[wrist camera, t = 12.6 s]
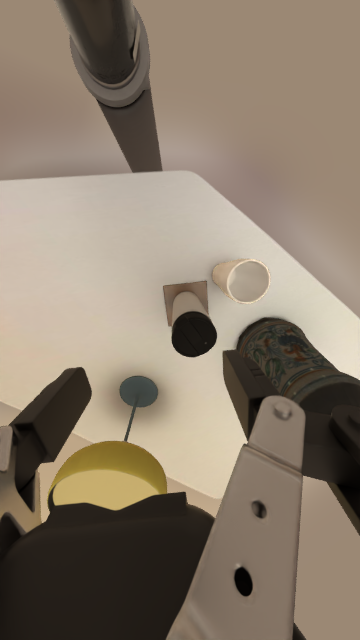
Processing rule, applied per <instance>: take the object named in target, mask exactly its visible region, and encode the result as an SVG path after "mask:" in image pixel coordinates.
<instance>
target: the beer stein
mask: <svg viewBox="0 0 360 640" xmlns="http://www.w3.org/2000/svg"><path fill="white" fill-rule="evenodd" d="M237 350H238V352H239V353H240V355H241V356H242V358H244V357H248V358H250V359H252V360H253V361H255V362H256V363H257V364H258V366H259V367H260V368H261V370H262V371H263V372H264V374H265V375H266V376H267V377H268V379H269V380H270V381H271V383H272V384H273V385H274V387H275V388H276V389H277V391H278V392H279V393H280V395H281V396H282V397H286V398H288V399H291V400H292V401H294V402H296V403H297V404H298V405H299V406H300V407H301V408H302V409H303V410H305V411H309V412H315V413H322V414H328V415H331V413H332V409H333V408H334V407H335V406H338V405H352V406H356V407H359V408H360V380H358V379H356V378H354V377H352V376H350V375H348V374H345V373H342V372H340V371H338V370H337V369H336V368H335V367H334V365H332V364H331V363H330V362H329V361H328V360H327V359H326V358H325V357H324V356H323V355H322V354H321V353H319V352H318V351H317V350H316V349H315V348H314V346H313V345H312V344H311V343H310V342H309V341H308V339H307V338H306V336H305V334H304V333H303V331H302V330H301V329H300V328H299V327H298V326H296V325H295V324H293V323H291V322H288V321H284V320H281V319H275V318H263V319H261V320H259V321H257V322H255V323H253V324H251V325H250V326H248V327H247V329H246V330H245V331H244V332H243V333H242V335H241V336H240V337H239V341H238V345H237Z"/></svg>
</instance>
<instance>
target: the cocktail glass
mask: <svg viewBox="0 0 360 640" xmlns="http://www.w3.org/2000/svg"><path fill="white" fill-rule="evenodd" d="M157 395H158V389H157V387H156V385H155V384H154V382H152V381H151V380H150V379H148V378H146V377H142V376H134V377H130V378H128V379H126V380H125V381H124V382H123V383H122V384H121V386H120V396H121V398H122V399H123V401H124V402H125V403H127V404H128V405H130V406H133V410H132V414H131V418H130V421H129V425H128V428H127V432H126V435H125V439H124V441H105V442H100V443H96V444H92V445H90V446H88V447H85V448H82V449H81V450H79V451H77V452H75V453H74V454H73V455H72V456H71V457H69V458H68V459H67V461H66V462H65V463H64V464H63V465H62V467H61V468H60V470H59V471H58V473H57V474H56V476H55V479H54V481H53V483H52V485H51V487H50V489H49V492H48V498H47V504H48V509H49V511H50V512H51V510H52V508H53V506H55V505H64V504H74V503H83V502H87V503H90V504H94V505H97V506H101V507H104V508H108V509H111V510H120V509H122V508H124V507H127V506H129V505H131V504H134V503H136V502H138V501H141V500H143V499H145V498H147V497H150V496H152V495H159V494H167V482H166V476H165V473H164V470H163V468H162V466H161V465H160V463H159V462H158V461H157V460H156V459H155V458H154V457H153V456H152V455H151V454H150V453H149V452H147V451H146V450H145V449H143V448H141V447H139V446H137V445H134V444H131V443H128V442H127V439H128V435H129V431H130V428H131V424H132V420H133V417H134V413H135V410H136V407H146V406H149V405H151V404H152V403H153V402H154V401H155V400H156V398H157Z"/></svg>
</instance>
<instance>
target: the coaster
mask: <svg viewBox="0 0 360 640" xmlns="http://www.w3.org/2000/svg"><path fill="white" fill-rule="evenodd" d="M163 289H164V297H165V304H166V311H167V318H168V326H172V317H173V302H174V299H175V297H176V296H177V295H178V294H179V293H181V292H184V291H189V292H192V293H194V294H195V295H196V296H197V297H198V299H199V300H200V302H201V304H202V306H203V307H204V309H205V311H206V312H207V314H208V300H207V283H206V281H202V282H193V283H184V284H176V285H167V286H163Z"/></svg>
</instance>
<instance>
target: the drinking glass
mask: <svg viewBox="0 0 360 640" xmlns="http://www.w3.org/2000/svg"><path fill="white" fill-rule="evenodd" d="M212 278H213V281H214V283H215V284H216V285H218V286H219V288H220V289H221V290H222V291H223V293H224V294H225V295H227V296H228V297H229V298H231V299H232V300H234V301H236V302H238V303H241V304H250V303H254V302H256V301H258V300H259V299H261V298H262V297H263V296H264V295H265V294H266V292H267V290H268V288H269V286H270V280H271V278H270V272H269V270H268V268H267V267H266V265H265V264H263V263H262V262H260V261H258V260H254V259H237V260H233V261H230V262H225V263H220V264H218V265H217V266H216V267H215V268H214V270H213V273H212Z"/></svg>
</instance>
